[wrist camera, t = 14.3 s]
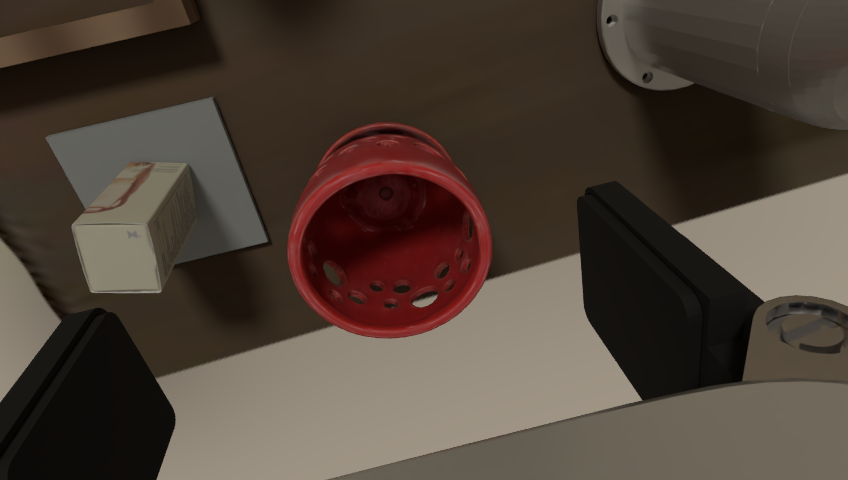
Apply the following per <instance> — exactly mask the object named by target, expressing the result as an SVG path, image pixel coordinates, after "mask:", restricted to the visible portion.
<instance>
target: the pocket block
mask: <svg viewBox="0 0 848 480" xmlns="http://www.w3.org/2000/svg"><path fill="white" fill-rule="evenodd" d="M199 20H201V18H200V15H199V13H198V10H197V7H196V5H195V2H194V0H154V3H150V4H145V5H141V6H137V7H132V8H128V9H124V10H119V11H115V12H110V13H106V14H102V15H97V16H93V17H88V18H84V19H80V20H75V21H71V22H66V23H62V24H58V25H53V26H49V27H45V28H40V29H36V30H31V31H27V32H23V33H18V34H14V35H9V36H5V37H1V38H0V68H3V67H7V66H11V65H16V64H20V63H24V62H29V61H33V60H38V59H42V58H46V57H51V56H55V55H59V54H64V53H68V52H72V51H77V50H81V49H85V48H90V47H94V46H98V45H103V44H107V43H112V42H116V41H120V40H125V39H129V38H133V37H138V36H142V35H146V34H151V33H155V32H159V31H164V30H168V29H173V28H177V27H181V26H186V25H190V24H192V23H194V22H196V21H199Z"/></svg>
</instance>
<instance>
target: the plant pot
mask: <svg viewBox="0 0 848 480" xmlns="http://www.w3.org/2000/svg"><path fill="white" fill-rule="evenodd" d="M470 216H471V218H472V221H473V223H472V225H473V230H472V237H471V238H470V234H469V217H470ZM308 248H309V249H308ZM309 250H310V252H309ZM462 251H463V255H462V257H461V259H460V255H461V253H462ZM287 253H288V263H289V268H290V271H291V274H292V277H293V280H294V283H295V285H296V287H297V289H298V291H299V292H300V294H301V295H302V297H303V298H304V300H305V301H306V302H307V303H308V304H309V306H310V307H311V308H312V309H313V310H315V311H316V312H317V313H318V314H319V315H320V316H321V317H323V318H324V319H325V320H327V321H328V322H330V323H332V324H334V325H335V326H337V327H339V328H341V329H344V330H346V331H348V332H351V333H354V334H357V335H361V336H367V337H375V338H400V337H408V336H413V335H417V334H421V333H424V332H427V331H430V330H432V329H434V328H437V327H438V326H440V325H443V324H445V323H446V322H448V321H450V320H451V319H452V318H454V317H455V316H456V315H458V314H459V313H460V312H461V311H462V310H463V309H464V308H466V307H467V306H468V305H469V304H470V303H471V301H472V300H473V299H474V297H475V296H476V295H477V293H478V292H479V290H480V289H481V287H482V285H483V284H484V282H485V279H486V277H487V274H488V272H489V268H490V264H491V259H492V236H491V230H490V225H489V222H488V219H487V216H486V213H485V211H484V208H483V206H482V203H481V201H480V199H479V197H478V195H477V193H476V192H475V190H474V188H473V187H472V185H471V184H470V182H469V181H468V179H467V178H466V177H465V175H464V174H463V173H462V172H461V171H460V169H459V168H458V167H457V166H456V165H455V164H454V163H453V161H452V159H451V157H450V156H449V154H448V153H447V151H446V150H445V149H444V147H443V146H442V145H441V144H440V143H439V142H438V141H437V140H435V139H434V138H433V137H432V136H430V135H429V134H427V133H426V132H424V131H422V130H420V129H418V128H415V127H413V126H409V125H405V124H401V123H393V122H380V123H373V124H368V125H365V126H362V127H359V128H357V129H354V130H352V131H350V132H348V133H347V134H345V135H343V136H342V137H341V138H339V139H338V140H337V141H336V142H335V143H334V144H333V145H332V146H331V147H330V148H329V149H328V150H327V151H326V153H325V154H324V156H323V157H322V159H321V161H320V163H319V165H318V167H317V170H316V171H315V172H314V174H313V175H312V176H311V178H310V180H309V182H308V184H307V186H306V187H305V189H304V191H303V193H302V195H301V197H300V199H299V201H298V203H297V206H296V208H295V211H294V214H293V218H292V222H291V226H290V231H289V236H288V245H287ZM470 261H471V265H470V267H469V269H468V271H467V268H468V265H469V262H470ZM324 263H326V264H327V265H329V266H331V267H332V268H333V269H334V270H335V272H336V273H337V274H338V276H339V278H340V281H341V284H340V285H336V284H334V283H332V282H331V281H330V280H329V279H328V278H327V277H326V274H325V272H324V269H323V264H324ZM447 266H449V271H448V273H447V274H446V276H445V277H443V278H439V276H440V273H441V271H442V270H443V269H444V268H445V267H447ZM452 284H454V286H453V288H452V289H451V290H450V291H448V292H447V290H448V288H449V287H450V286H451V285H452ZM372 285H377V286H379V287H381V288H382V290H381V291H373V290H372V289H371V288H370V286H372ZM401 285H407V286H409V287H410V290H409V291H408V292H406V293H397V292H395V291H394V289H395V288H396V287H398V286H401ZM429 291H436V292H438V296H437V298H436V300H435V301H434V302H433V303H432V304H430V305H428V306H425V307H421V308H420V307H416V306H414V305H413V304H412V303H413V301H414V299H415V298H417V297H418V296H419V295H421V294H423V293H425V292H429ZM331 295H332V296H333V297H334V298H335V299H336V300H335V299H334V298H332V297H331ZM349 296H353V297H357V298H359V299H361V300H362V301H363V302H364V303H363V304H358V303H356V302H354V301H352V300H351V299H349ZM390 303H391V304H395V305H397V307H395V308H387V307H385V305H386V304H390Z"/></svg>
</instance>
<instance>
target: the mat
mask: <svg viewBox="0 0 848 480" xmlns="http://www.w3.org/2000/svg"><path fill="white" fill-rule="evenodd" d="M46 140H47V141H48V143H49V145H50V147H51V149H52V150H53V152H54V154H55V156H56V157H57V159H58V161H59V163H60V165H61V166H62V168H63V170H64V172H65V173H66V175H67V177H68V179H69V180H70V182H71V184H72V186H73V188H74V189H75V191H76V193H77V195H78V196H79V198H80V200H81V202H82V204H83V205H84V207H85V209H87V208H88V207H89V206H90V205H91V204H92V203H93V202H94V201H95V200H96V198H97V197H98V196H99V195H100V194H101V193H102V192H103V191H104V190H105V189H106V188H107V187H108V186H109V185H110V183H111V182H112V181H113V180H114V179H115V178H116V177H117V176H118V175H119V174H120V173H121V171H122V170H123V169H124V168H125V167H126V166H127V165H128V164H129V163H131V162H166V163H187V164H188V165H189V169H190V175H191V180H192V186H193V191H194V198H195V205H196V212H197V222H196V224H195V226H194V228H193V230H192V232H191V234H190V236H189V238H188V240H187V242H186V244H185V245H184V247H183V249H182V251H181V254H180V255H179V258H178V259H177V261H176V263H175V264H179V263H183V262H187V261H191V260H195V259H199V258H203V257H207V256H211V255H216V254H220V253H224V252H228V251H232V250H236V249H240V248H244V247H248V246H252V245H257V244H261V243H265V242H268V240H269V237H268V235H267V232H266V230H265V227H264V224H263V222H262V219H261V217H260V214H259V212H258V209H257V206H256V204H255V201H254V199H253V196H252V194H251V191H250V188H249V186H248V183H247V181H246V178H245V176H244V173H243V170H242V168H241V165H240V163H239V160H238V158H237V155H236V152H235V150H234V147H233V145H232V142H231V140H230V137H229V135H228V132H227V129H226V127H225V124H224V122H223V119H222V117H221V114H220V111H219V109H218V106H217V104H216V101H215V99H214V97H210V98H206V99H202V100H198V101H193V102H189V103H185V104H181V105H176V106H172V107H168V108H164V109H159V110H155V111H151V112H146V113H142V114H138V115H134V116H129V117H125V118H121V119H117V120H112V121H108V122H104V123H99V124H95V125H91V126H87V127H82V128H78V129H74V130H70V131H65V132H61V133H57V134H53V135H49V136H47V137H46Z"/></svg>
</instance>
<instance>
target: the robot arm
mask: <svg viewBox="0 0 848 480" xmlns="http://www.w3.org/2000/svg"><path fill="white" fill-rule="evenodd" d="M608 17H609V18H610V20H609V22H608V23H606V21H607V18H608ZM597 31H598V37H599V42H600V45H601V47H602V50H603V53H604V55H605V57H606V59H607V60H608V62H609V63H610V65H611V66H612V68H613V69H614V70H615V71H616V72H618V73H619V74H620V75H621V76H622V77H623V78H625V79H626V80H628V81H630V82H632V83H633V84H636V85H638V86H640V87H643V88H647V89H652V90H658V91H661V90H675V89H679V88H683V87H687V86H690V85H692V84H694V83H696V84H699V85H701V86H704V87H707V88H710V89H713V90H715V91H718V92H721V93H724V94H726V95H729V96H732V97H735V98H737V99H740V100H743V101H746V102H748V103H751V104H754V105H757V106H760V107H762V108H765V109H768V110H771V111H774V112H776V113H779V114H782V115H785V116H788V117H790V118H793V119H796V120H800V121H802V122H805V123H808V124H811V125H815V126H819V127H824V128H830V129H842V130H848V0H598V5H597ZM644 74H645V75H644ZM643 75H644V77H643ZM642 77H643V78H642ZM577 212H578V226H579V241H580V256H581V270H582V285H583V300H584V309H585V312H586V315H587V318H588V320H589V322H590V324H591V325H592V327H593V328H594V329H595V331H596V332H597V334H598V335H599V337H600V338H601V340H602V341H603V343H604V344H605V346H606V347H607V348H608V350H609V352H610V353H611V355H612V356H613V357H614V359H615V361H616V362H617V363H618V365H619V366H620V368H621V369H622V371H623V372H624V374H625V375H626V377H627V378H628V380H629V381H630V383H631V384H632V385H633V387H634V389H635V390H636V392H637V393H638V394H639V396H640V397H641V399H642V400H643V401H638V402H634V403H629V404H625V405H621V406H617V407H614V408H609V409H605V410H601V411H597V412H594V413H589V414H586V415H581V416H577V417H574V418H569V419H566V420H561V421H557V422H553V423H549V424H545V425H541V426H538V427H533V428H530V429H525V430H521V431H517V432H513V433H510V434H505V435H501V436H497V437H493V438H489V439H485V440H482V441H478V442H473V443H469V444H465V445H462V446H458V447H454V448H450V449H446V450H442V451H438V452H434V453H430V454H426V455H422V456H418V457H414V458H410V459H406V460H403V461H399V462H395V463H391V464H387V465H383V466H379V467H375V468H371V469H367V470H363V471H359V472H356V473H352V474H348V475H344V476H340V477H336V478H332V479H328V480H848V306H845V305H842V304H840V303H837V302H835V301H832V300H827V299H823V298H818V297H812V296H797V295H796V296H785V297H779V298H775V299H772V300H769V301H766V302H764V301H763V300H761V299H760V298H759V297H758V296H757V295H755V294H754V293H753V292H751V290H749V289H748V288H747V287H746V286H744V285H743V284H742V283H741V282H740V281H738V280H737V279H736V278H735V277H733V276H732V275H731V274H730V273H729V272H727V271H726V270H725V269H724V268H722V267H721V266H720V265H719V264H718V263H716V262H715V261H714V260H713V259H711V258H710V257H709V256H708V255H707V254H705V253H704V252H703V251H702V250H701V249H699V248H698V247H697V246H696V245H694V244H693V243H692V242H691V241H689V240H688V239H687V238H686V237H684V236H683V235H682V234H680V233H679V232H678V231H677V230H675V229H674V228H673V227H672V226H671V225H669V224H668V223H667V222H666V221H665V220H663V219H662V218H661V217H660V216H658V215H657V214H656V213H655V212H654V211H652V210H651V209H650V208H649V207H647V206H646V205H645V204H644V203H643V202H641V201H640V200H639V199H638V198H637V197H635V196H634V195H633V194H632V193H630V192H629V191H628V190H627V189H626V188H624V187H623V186H622V185H621V184H620V183H618V182H616V181H613V182H609V183H605V184H601V185H596V186H592V187H588V188H587V189H586V190H585V196H581V197H579V198H578V200H577ZM175 420H176V419H175V413H174V410H173V408H172V406H171V404H170V402H169V401H168V399H167V398H166V396H165V394H164V393H163V391H162V389H161V387H160V386H159V384H158V383H157V381H156V379H155V377H154V376H153V374H152V372H151V371H150V369H149V367H148V366H147V364H146V362H145V361H144V359H143V357H142V356H141V354H140V352H139V351H138V349H137V347H136V346H135V344H134V342H133V341H132V339H131V337H130V336H129V334H128V332H127V331H126V329H125V327H124V326H123V324H122V323H121V321H120V319H119V318H118V316H117V315H116V314H114V313H112V312H109V313H108V312H107V311H105V310H104V309H102V308H95V309H91V310H87V311H83V312H79V313H75V314H71V315H67V316H66V317H65V318H64V319H63V320H62V322H61V323H60V324H59V326H58V327H57V328H56V330H55V331H54V332H53V334H52V335H51V336H50V337H49V339H48V340H47V341H46V343H45V344H44V346H43V347H42V348H41V350H40V351H39V352H38V353H37V355H36V356H35V357H34V359H33V360H32V361H31V363H30V364H29V365H28V367H27V368H26V369H25V371H24V372H23V373H22V375H21V376H20V377H19V379H18V380H17V381H16V383H15V384H14V385H13V387H12V388H11V389H10V391H9V392H8V393H7V394H6V396H5V397H4V398H3V400H2V401H1V402H0V480H156V479H157V476H158V473H159V471H160V468H161V465H162V462H163V459H164V456H165V453H166V450H167V448H168V445H169V442H170V439H171V436H172V433H173V430H174V427H175Z"/></svg>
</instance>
